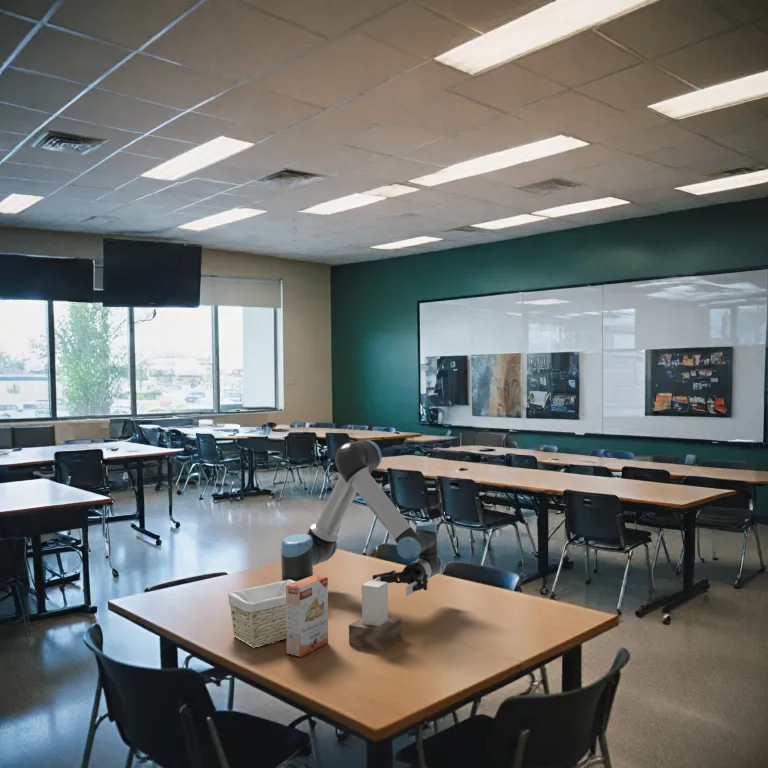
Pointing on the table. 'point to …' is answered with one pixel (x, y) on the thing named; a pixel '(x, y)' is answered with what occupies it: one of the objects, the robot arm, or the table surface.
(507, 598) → the table surface
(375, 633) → the walnut block
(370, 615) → the white block
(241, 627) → the storage basket
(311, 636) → the cracker box
